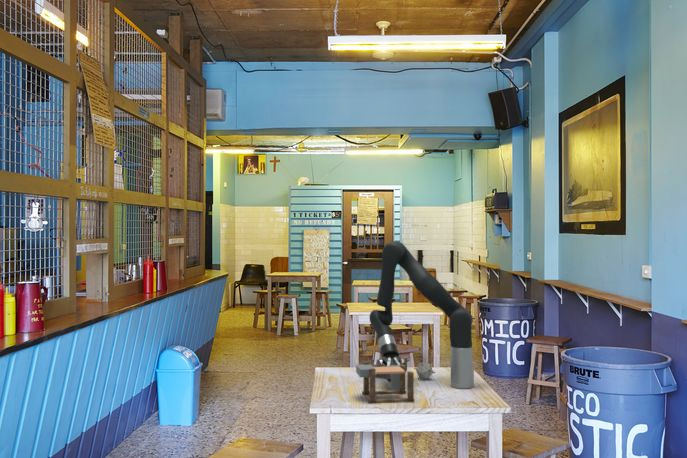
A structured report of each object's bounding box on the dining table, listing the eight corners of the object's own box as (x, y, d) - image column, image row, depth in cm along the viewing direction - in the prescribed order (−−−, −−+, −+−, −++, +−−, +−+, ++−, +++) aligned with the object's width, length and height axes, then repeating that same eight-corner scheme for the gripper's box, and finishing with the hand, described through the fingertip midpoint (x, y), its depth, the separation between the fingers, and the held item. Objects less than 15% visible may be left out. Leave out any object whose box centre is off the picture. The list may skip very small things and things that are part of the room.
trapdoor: (399, 370, 252) (399, 363, 252) (405, 376, 241) (405, 368, 241) (356, 372, 249) (356, 364, 249) (360, 377, 239) (360, 369, 239)
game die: (428, 387, 280) (441, 369, 280) (421, 383, 274) (434, 366, 273) (414, 375, 286) (427, 358, 286) (407, 371, 279) (420, 354, 279)
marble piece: (393, 380, 279) (393, 371, 279) (361, 378, 282) (361, 369, 283) (398, 372, 295) (398, 364, 295) (368, 371, 299) (368, 362, 299)
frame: (404, 392, 254) (404, 361, 255) (414, 401, 239) (414, 368, 239) (362, 393, 252) (362, 362, 252) (369, 403, 237) (369, 369, 237)
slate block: (398, 388, 262) (398, 364, 262) (402, 390, 257) (402, 366, 257) (387, 388, 261) (387, 365, 261) (390, 391, 256) (390, 367, 256)
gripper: (374, 342, 265) (381, 376, 253) (405, 341, 268) (414, 375, 256) (370, 353, 270) (378, 386, 258) (402, 352, 274) (410, 385, 261)
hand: (396, 380), depth 257 cm, fingers closed on slate block, 5 cm apart
